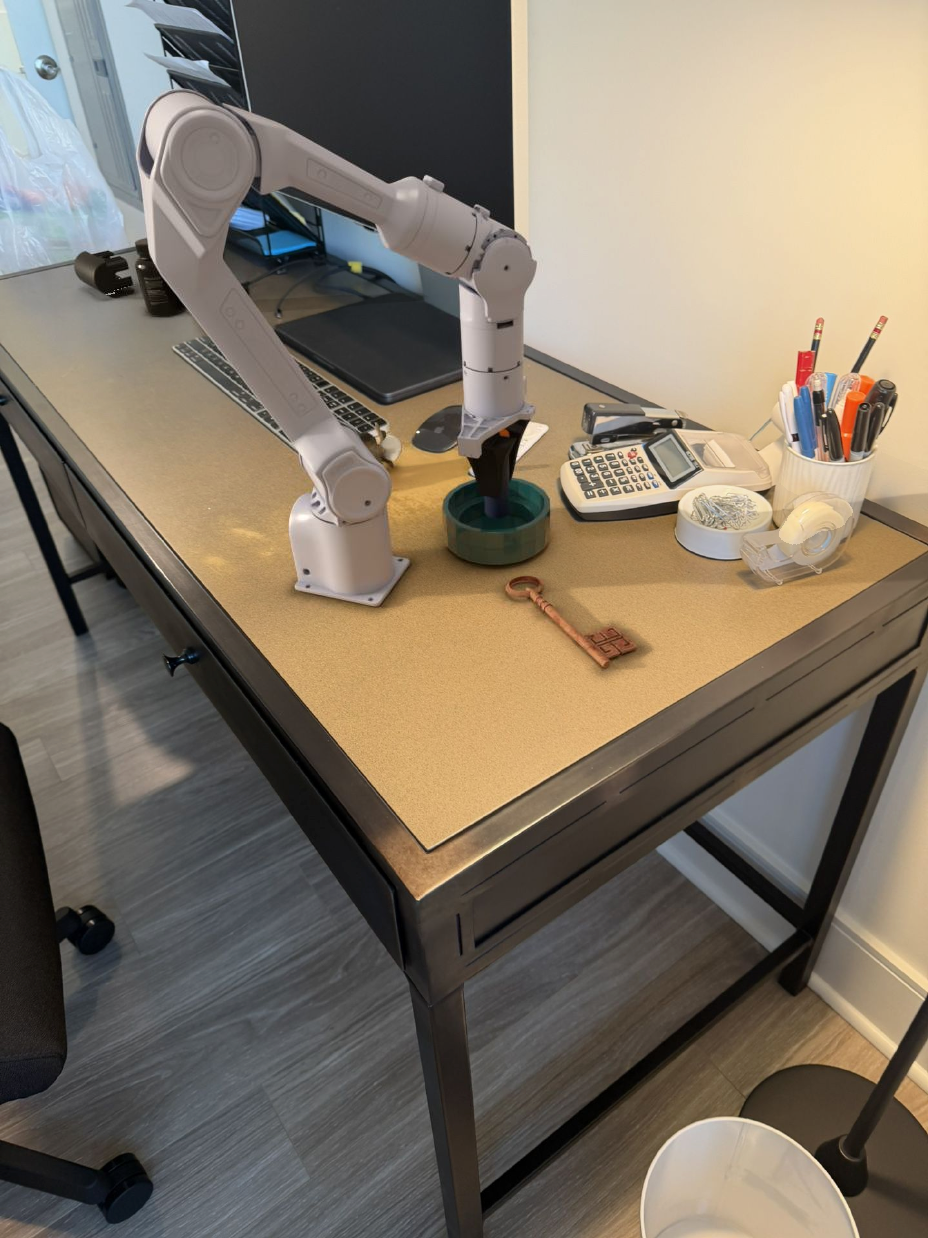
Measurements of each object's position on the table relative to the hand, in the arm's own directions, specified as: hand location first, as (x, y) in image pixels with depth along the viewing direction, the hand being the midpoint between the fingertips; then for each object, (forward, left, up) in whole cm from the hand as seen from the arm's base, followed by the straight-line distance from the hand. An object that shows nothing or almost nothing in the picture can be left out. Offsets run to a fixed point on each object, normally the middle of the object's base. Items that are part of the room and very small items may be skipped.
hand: (496, 487), depth 88 cm
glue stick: (0, 0, -3) cm, 3 cm away
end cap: (-99, +58, -6) cm, 115 cm away
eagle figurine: (-20, +8, -6) cm, 22 cm away
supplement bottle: (-81, +52, -6) cm, 96 cm away
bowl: (0, 0, -6) cm, 6 cm away
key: (+11, -11, -6) cm, 17 cm away
